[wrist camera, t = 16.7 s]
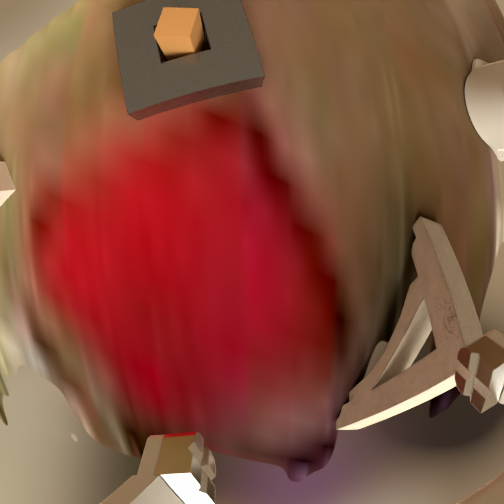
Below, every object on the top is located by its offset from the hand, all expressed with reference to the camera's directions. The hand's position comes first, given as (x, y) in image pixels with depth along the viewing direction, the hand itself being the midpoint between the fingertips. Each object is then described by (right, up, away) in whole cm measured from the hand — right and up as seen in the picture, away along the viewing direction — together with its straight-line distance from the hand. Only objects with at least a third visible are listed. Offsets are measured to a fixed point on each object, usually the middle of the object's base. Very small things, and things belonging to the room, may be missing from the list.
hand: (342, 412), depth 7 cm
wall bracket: (+18, -8, +35) cm, 41 cm away
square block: (-11, +31, +24) cm, 41 cm away
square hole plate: (-11, +31, +24) cm, 41 cm away
